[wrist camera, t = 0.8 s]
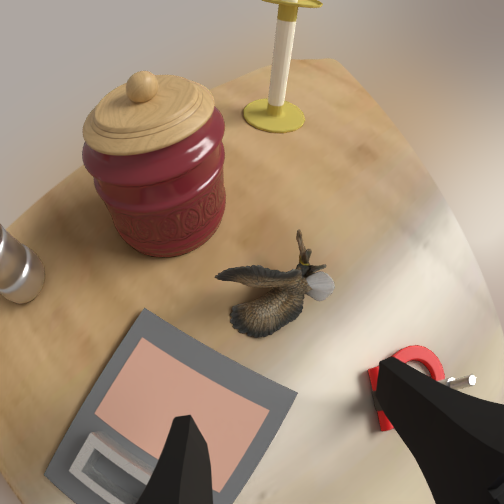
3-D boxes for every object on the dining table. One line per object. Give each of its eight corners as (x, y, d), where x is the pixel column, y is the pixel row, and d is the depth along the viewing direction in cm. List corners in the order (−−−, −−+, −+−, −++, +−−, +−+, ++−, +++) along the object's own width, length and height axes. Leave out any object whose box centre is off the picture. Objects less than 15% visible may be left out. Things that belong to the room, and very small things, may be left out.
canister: (193, 279, 29) (158, 136, 14) (98, 236, 31) (31, 114, 16) (243, 189, 35) (252, 52, 20) (155, 161, 37) (131, 43, 22)
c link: (173, 528, 16) (167, 538, 14) (81, 467, 18) (68, 470, 16) (198, 492, 18) (194, 501, 16) (102, 431, 20) (90, 432, 18)
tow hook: (428, 339, 27) (361, 362, 26) (512, 293, 16) (448, 322, 15) (445, 406, 24) (378, 439, 22) (535, 385, 12) (474, 442, 11)
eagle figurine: (275, 234, 31) (202, 271, 27) (322, 223, 25) (237, 268, 20) (301, 299, 32) (235, 342, 28) (350, 301, 26) (277, 358, 21)
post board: (184, 563, 14) (175, 587, 10) (48, 473, 17) (21, 479, 13) (295, 393, 24) (309, 390, 20) (147, 310, 27) (131, 291, 23)
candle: (249, 96, 46) (265, -103, 14) (306, 105, 46) (342, -92, 14) (237, 127, 42) (251, -117, 9) (303, 138, 41) (350, -105, 9)
